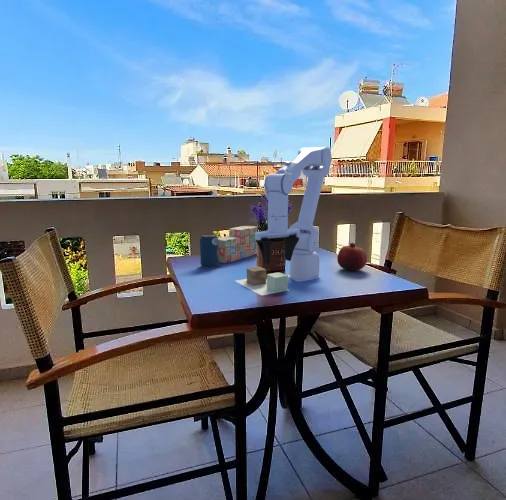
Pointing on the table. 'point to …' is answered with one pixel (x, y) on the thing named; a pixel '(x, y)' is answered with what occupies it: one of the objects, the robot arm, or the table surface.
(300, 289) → the table surface
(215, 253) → the soda can
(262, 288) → the build mat
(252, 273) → the walnut block
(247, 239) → the stack of blocks
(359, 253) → the fruit
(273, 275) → the sage block
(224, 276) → the table surface
